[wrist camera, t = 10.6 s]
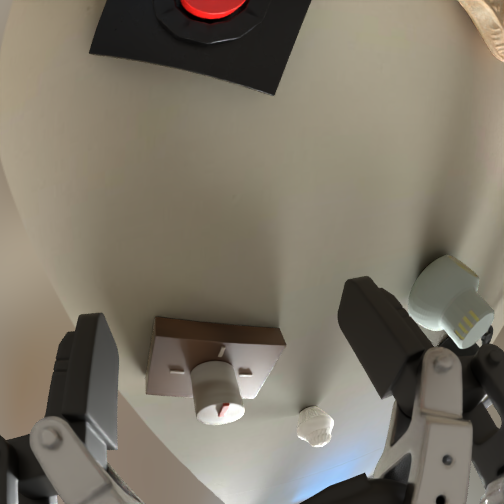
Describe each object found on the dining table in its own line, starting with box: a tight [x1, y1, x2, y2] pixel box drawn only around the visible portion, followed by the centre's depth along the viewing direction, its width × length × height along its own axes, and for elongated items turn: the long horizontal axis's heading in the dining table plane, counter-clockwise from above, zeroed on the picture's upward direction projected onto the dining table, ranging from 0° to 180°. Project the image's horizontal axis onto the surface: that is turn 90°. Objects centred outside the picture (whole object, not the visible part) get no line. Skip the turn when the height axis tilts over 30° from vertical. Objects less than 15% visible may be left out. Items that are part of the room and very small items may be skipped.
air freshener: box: [408, 254, 494, 349], centre depth 31 cm, size 11×8×10 cm
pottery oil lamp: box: [458, 0, 504, 62], centre depth 15 cm, size 9×12×7 cm
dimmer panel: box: [145, 317, 286, 398], centre depth 32 cm, size 13×10×3 cm
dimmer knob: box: [190, 361, 244, 425], centre depth 28 cm, size 5×5×5 cm
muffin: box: [297, 406, 334, 447], centre depth 43 cm, size 6×6×7 cm
